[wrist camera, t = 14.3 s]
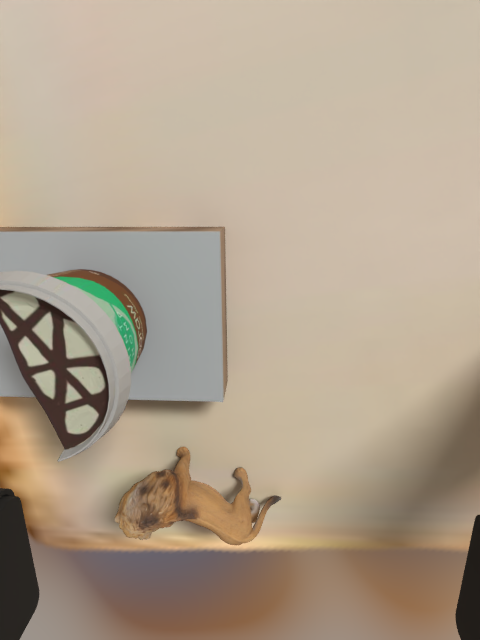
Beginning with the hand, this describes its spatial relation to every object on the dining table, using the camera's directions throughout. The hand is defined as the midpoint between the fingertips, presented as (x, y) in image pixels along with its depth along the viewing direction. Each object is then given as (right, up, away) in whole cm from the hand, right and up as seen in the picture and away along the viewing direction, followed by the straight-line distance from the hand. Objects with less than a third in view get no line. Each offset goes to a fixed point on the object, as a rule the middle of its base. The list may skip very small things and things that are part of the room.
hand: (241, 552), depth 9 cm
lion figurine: (-4, -11, +34) cm, 36 cm away
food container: (-10, +5, +25) cm, 27 cm away
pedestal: (-11, +6, +29) cm, 31 cm away
